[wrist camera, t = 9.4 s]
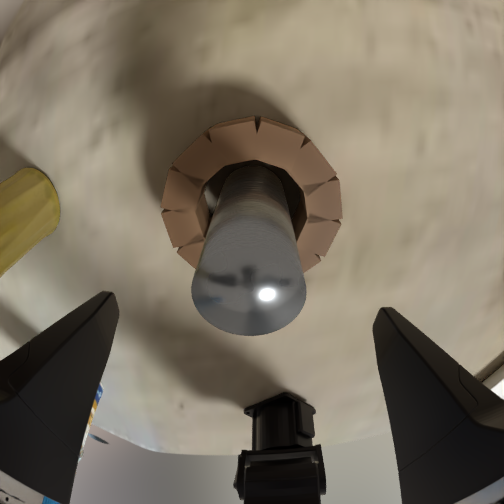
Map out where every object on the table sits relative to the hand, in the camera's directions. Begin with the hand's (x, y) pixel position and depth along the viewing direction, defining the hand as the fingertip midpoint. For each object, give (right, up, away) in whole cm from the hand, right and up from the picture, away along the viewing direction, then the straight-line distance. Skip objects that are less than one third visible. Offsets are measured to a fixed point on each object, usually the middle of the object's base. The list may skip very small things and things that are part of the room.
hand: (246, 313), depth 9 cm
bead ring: (0, +6, +9) cm, 11 cm away
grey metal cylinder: (0, +6, +9) cm, 11 cm away
